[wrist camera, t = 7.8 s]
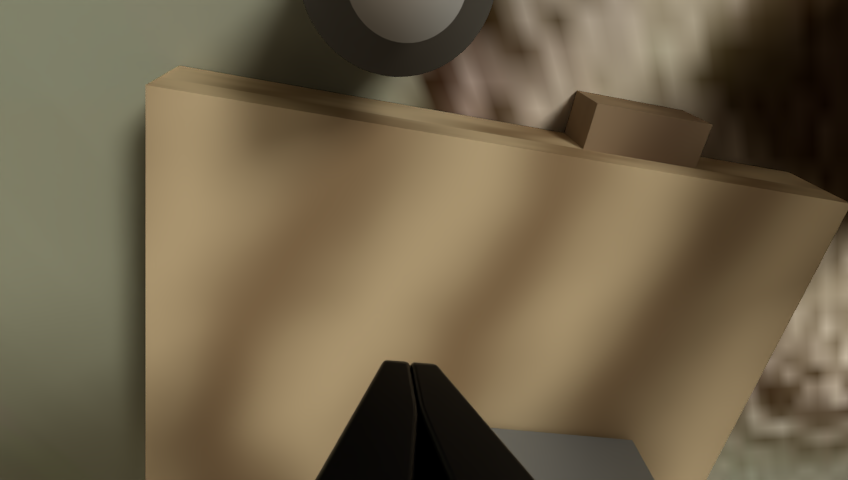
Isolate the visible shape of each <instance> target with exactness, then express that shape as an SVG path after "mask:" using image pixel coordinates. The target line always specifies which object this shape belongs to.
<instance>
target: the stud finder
mask: <svg viewBox="0 0 848 480" xmlns="http://www.w3.org/2000/svg"><path fill="white" fill-rule="evenodd" d="M491 429H492V430H493V431H494V432H495V434H496V435H497V436H498V437H499V438H500V439H501V441H502V442H503V443H504V444H505V445H506V447H507V448H508V449H509V450H510V451H511V452H512V454H513V455H514V456H515V457H516V458H517V459H518V461H519V462H520V463H521V464H522V465H523V466H524V468H525V469H526V470H527V471H528V472H529V473H530V475H531V476H532V477H533V478H534V479H535V480H654V478H653V476H652V475H651V473H650V471H649V469H648V467H647V466H646V464H645V462H644V460H643V458H642V457H641V455H640V453H639V451H638V449H637V448H636V446H635V444H634V442H633V440H625V439H614V438H602V437H591V436H579V435H568V434H556V433H545V432H533V431H522V430H510V429H499V428H491Z"/></svg>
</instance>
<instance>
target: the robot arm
mask: <svg viewBox="0 0 848 480" xmlns="http://www.w3.org/2000/svg"><path fill="white" fill-rule="evenodd" d="M315 480H535V479H534V478H533V477H532V476H531V475H530V473H529V472H528V471H527V470H526V469H525V468H524V466H523V465H522V464H521V463H520V462H519V461H518V459H517V458H516V457H515V456H514V455H513V454H512V452H511V451H510V450H509V449H508V448H507V447H506V445H505V444H504V443H503V442H502V441H501V439H500V438H499V437H498V436H497V435H496V434H495V432H494V431H493V430H492V429H491V428H490V427H489V425H488V424H487V423H486V422H485V421H484V420H483V418H482V417H481V416H480V415H479V414H478V413H477V411H476V410H475V409H474V408H473V407H472V405H471V404H470V403H469V402H468V401H467V400H466V398H465V397H464V396H463V395H462V394H461V393H460V391H459V390H458V389H457V388H456V387H455V386H454V384H453V383H452V382H451V381H450V380H449V379H448V377H447V376H446V375H445V374H444V373H443V371H442V370H441V369H440V368H439V367H438V366H437V365H436V364H432V363H419V362H413V363H411V365H409V363H408V362H405V361H394V360H385V361H384V362H383V363H382V364H381V366H380V368H379V369H378V371H377V373H376V375H375V376H374V378H373V380H372V382H371V383H370V385H369V387H368V388H367V390H366V392H365V394H364V395H363V397H362V399H361V401H360V402H359V404H358V406H357V408H356V409H355V411H354V413H353V415H352V416H351V418H350V420H349V422H348V423H347V425H346V427H345V429H344V430H343V432H342V434H341V435H340V437H339V439H338V441H337V442H336V444H335V446H334V448H333V449H332V451H331V453H330V455H329V456H328V458H327V460H326V462H325V463H324V465H323V467H322V469H321V470H320V472H319V474H318V476H317V477H316V479H315Z"/></svg>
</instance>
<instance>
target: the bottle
mask: <svg viewBox="0 0 848 480" xmlns="http://www.w3.org/2000/svg"><path fill="white" fill-rule="evenodd" d="M303 2H304V5H305V8H306V11H307V13H308V15H309V17H310V19H311V21H312V23H313V25H314V26H315V28H316V29H317V31H318V32H319V34H320V35H321V37H322V38H323V39H324V40H325V41H326V43H327V44H328V45H329V46H330V47H331V48H332V49H333V50H334V51H335V52H336V53H337V54H339V55H340V56H341V57H343V58H344V59H346V60H347V61H348V62H350V63H352V64H354V65H355V66H357V67H359V68H361V69H364V70H366V71H369V72H372V73H376V74H380V75H385V76H394V77H404V76H413V75H420V74H423V73H426V72H430V71H432V70H435V69H437V68H439V67H441V66H443V65H445V64H446V63H448V62H450V61H451V60H453V59H454V58H455V57H457V56H458V55H459V54H460V53H462V52H463V51H464V50H465V49H466V48H467V47H468V46H469V45H470V44H471V42H472V41H473V40H474V38H475V37H476V36H477V34H478V33H479V32H480V30H481V28H482V26H483V25H484V23H485V21H486V19H487V17H488V14H489V12H490V10H491V7H492V3H493V0H303Z"/></svg>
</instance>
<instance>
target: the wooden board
mask: <svg viewBox="0 0 848 480" xmlns="http://www.w3.org/2000/svg"><path fill="white" fill-rule="evenodd" d="M712 126H713V125H712V124H710V123H708V122H706V121H704V120H702V119H700V118H698V117H696V116H693V115H691V114H689V113H687V112H685V111H683V110H678V109H672V108H667V107H662V106H656V105H651V104H646V103H641V102H635V101H630V100H625V99H619V98H614V97H609V96H603V95H598V94H593V93H587V92H582V91H577V92H576V96H575V99H574V102H573V106H572V109H571V112H570V116H569V119H568V123H567V126H566V129H565V133H562V132H556V131H550V130H545V129H539V128H533V127H527V126H522V125H516V124H510V123H505V122H499V121H493V120H487V119H482V118H476V117H470V116H465V115H459V114H453V113H447V112H442V111H436V110H430V109H425V108H419V107H413V106H407V105H402V104H396V103H390V102H385V101H379V100H373V99H367V98H362V97H356V96H350V95H344V94H339V93H333V92H327V91H322V90H316V89H310V88H304V87H299V86H293V85H287V84H282V83H276V82H270V81H264V80H259V79H253V78H247V77H242V76H236V75H230V74H224V73H219V72H213V71H207V70H202V69H196V68H190V67H184V66H178V67H176V68H174V69H172V70H171V71H169V72H167V73H165V74H164V75H162V76H160V77H159V78H157V79H155V80H153V81H152V82H150V83H148V84H146V447H145V480H315V479H316V477H317V476H318V474H319V472H320V470H321V469H322V467H323V465H324V463H325V462H326V460H327V458H328V456H329V455H330V453H331V451H332V449H333V448H334V446H335V444H336V442H337V441H338V439H339V437H340V435H341V434H342V432H343V430H344V429H345V427H346V425H347V423H348V422H349V420H350V418H351V416H352V415H353V413H354V411H355V409H356V408H357V406H358V404H359V402H360V401H361V399H362V397H363V395H364V394H365V392H366V390H367V388H368V387H369V385H370V383H371V382H372V380H373V378H374V376H375V375H376V373H377V371H378V369H379V368H380V366H381V364H382V363H383V362H384V361H385V360H394V361H405V362H408V363H409V365H411V363H413V362H419V363H432V364H436V365H437V366H438V367H439V368H440V369H441V370H442V371H443V373H444V374H445V375H446V376H447V377H448V379H449V380H450V381H451V382H452V383H453V384H454V386H455V387H456V388H457V389H458V390H459V391H460V393H461V394H462V395H463V396H464V397H465V398H466V400H467V401H468V402H469V403H470V404H471V405H472V407H473V408H474V409H475V410H476V411H477V413H478V414H479V415H480V416H481V417H482V418H483V420H484V421H485V422H486V423H487V424H488V425H489V427H490V428H499V429H510V430H522V431H533V432H545V433H556V434H568V435H579V436H591V437H602V438H614V439H625V440H633V442H634V444H635V446H636V448H637V449H638V451H639V453H640V455H641V457H642V458H643V460H644V462H645V464H646V466H647V467H648V469H649V471H650V473H651V475H652V476H653V478H654V480H706V479H707V477H708V475H709V473H710V471H711V469H712V468H713V466H714V464H715V462H716V460H717V458H718V456H719V454H720V452H721V450H722V448H723V447H724V445H725V443H726V441H727V439H728V437H729V435H730V433H731V431H732V429H733V428H734V426H735V424H736V422H737V420H738V418H739V416H740V414H741V412H742V410H743V409H744V407H745V405H746V403H747V401H748V399H749V397H750V395H751V393H752V391H753V390H754V388H755V386H756V384H757V382H758V380H759V378H760V376H761V374H762V372H763V371H764V369H765V367H766V365H767V363H768V361H769V359H770V357H771V355H772V353H773V351H774V350H775V348H776V346H777V344H778V342H779V340H780V338H781V336H782V334H783V332H784V331H785V329H786V327H787V325H788V323H789V321H790V319H791V317H792V315H793V313H794V312H795V310H796V308H797V306H798V304H799V302H800V300H801V298H802V296H803V294H804V293H805V291H806V289H807V287H808V285H809V283H810V281H811V279H812V277H813V275H814V274H815V272H816V270H817V268H818V266H819V264H820V262H821V260H822V258H823V256H824V254H825V253H826V251H827V249H828V247H829V245H830V243H831V241H832V239H833V237H834V235H835V234H836V232H837V230H838V228H839V226H840V224H841V222H842V220H843V218H844V216H845V215H846V213H847V211H848V202H847V201H845V200H843V199H841V198H839V197H837V196H835V195H833V194H831V193H829V192H827V191H825V190H823V189H821V188H819V187H817V186H815V185H813V184H811V183H809V182H807V181H805V180H803V179H801V178H799V177H797V176H795V175H793V174H791V173H789V172H785V171H779V170H773V169H768V168H762V167H756V166H751V165H745V164H739V163H733V162H728V161H722V160H716V159H710V158H705V157H700V156H701V153H702V151H703V148H704V146H705V143H706V141H707V138H708V136H709V133H710V131H711V128H712Z"/></svg>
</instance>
